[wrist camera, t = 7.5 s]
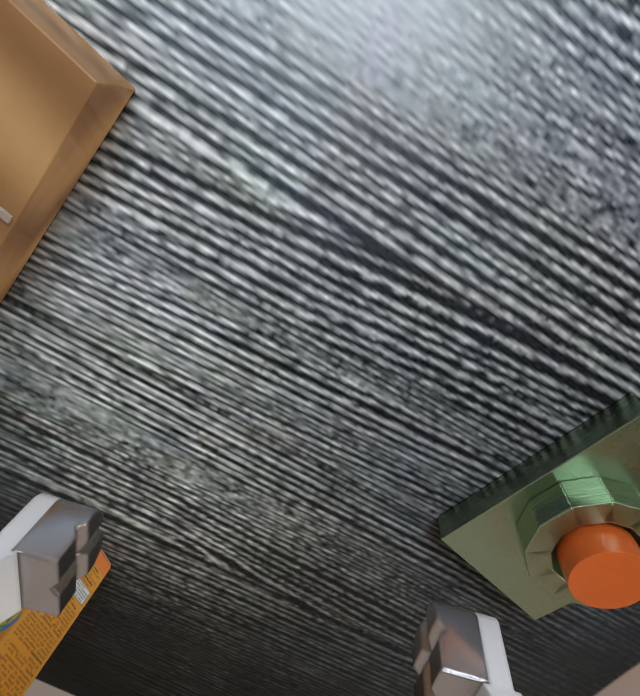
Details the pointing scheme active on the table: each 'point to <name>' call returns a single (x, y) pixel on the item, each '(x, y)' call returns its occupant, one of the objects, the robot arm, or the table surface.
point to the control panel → (46, 122)
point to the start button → (601, 565)
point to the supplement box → (41, 634)
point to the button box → (551, 508)
